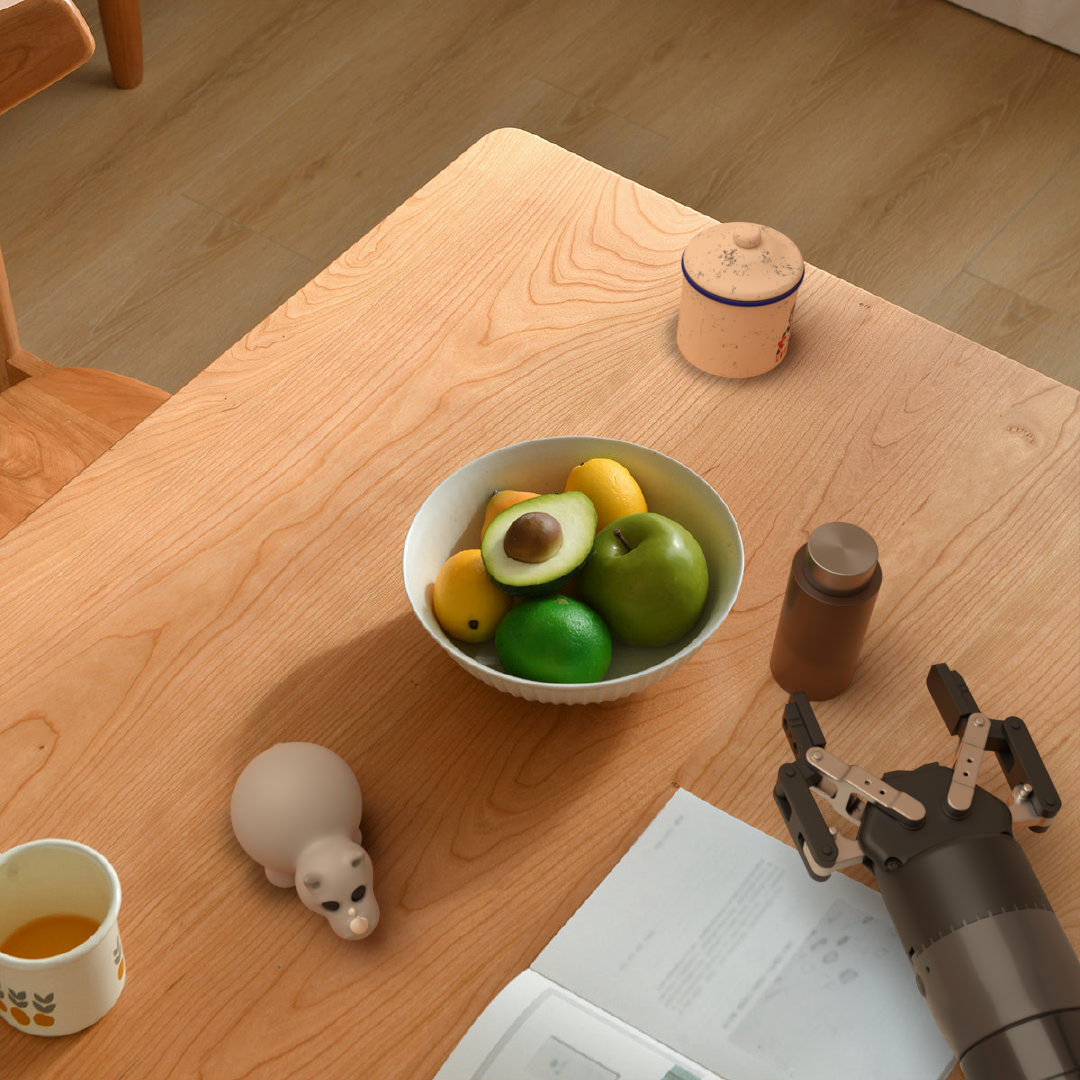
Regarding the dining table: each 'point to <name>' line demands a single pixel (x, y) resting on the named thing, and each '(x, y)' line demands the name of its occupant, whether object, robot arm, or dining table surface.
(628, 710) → the dining table surface
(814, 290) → the dining table surface
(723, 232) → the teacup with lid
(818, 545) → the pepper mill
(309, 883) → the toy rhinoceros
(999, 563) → the dining table surface
